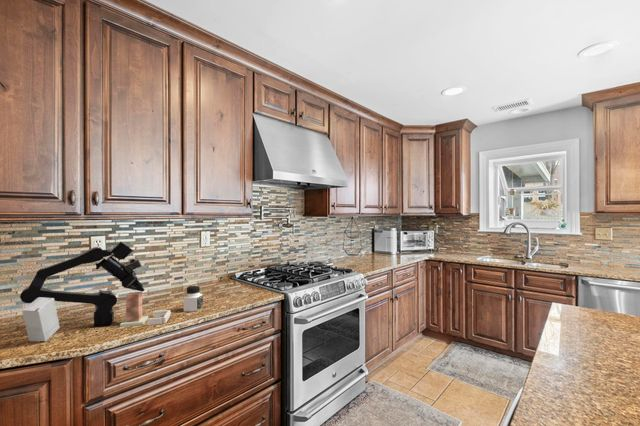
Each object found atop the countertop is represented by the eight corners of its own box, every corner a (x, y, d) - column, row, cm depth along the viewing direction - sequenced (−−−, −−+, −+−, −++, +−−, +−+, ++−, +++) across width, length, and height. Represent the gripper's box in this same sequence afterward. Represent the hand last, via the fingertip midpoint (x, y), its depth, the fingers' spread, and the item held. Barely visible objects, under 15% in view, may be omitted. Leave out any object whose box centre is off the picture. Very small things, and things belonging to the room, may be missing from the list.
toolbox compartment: (147, 325, 135) (147, 319, 135) (153, 316, 146) (153, 311, 146) (165, 323, 137) (165, 317, 137) (170, 314, 148) (170, 309, 148)
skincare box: (45, 327, 125) (38, 296, 120) (61, 328, 125) (55, 296, 121) (28, 342, 117) (20, 309, 112) (45, 342, 117) (38, 310, 113)
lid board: (119, 326, 133) (119, 324, 133) (126, 320, 142) (126, 317, 142) (143, 324, 136) (143, 322, 136) (148, 317, 144) (148, 315, 144)
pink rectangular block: (126, 322, 136) (126, 295, 136) (130, 318, 141) (130, 292, 141) (138, 321, 137) (138, 294, 137) (142, 317, 142) (142, 291, 142)
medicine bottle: (197, 311, 153) (197, 287, 153) (183, 311, 153) (183, 287, 154) (203, 307, 160) (202, 284, 160) (189, 307, 161) (189, 284, 161)
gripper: (130, 256, 135) (158, 278, 141) (128, 252, 150) (154, 272, 156) (108, 276, 130) (139, 298, 136) (109, 270, 146) (136, 290, 152)
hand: (143, 288), depth 145 cm, fingers open, 9 cm apart
